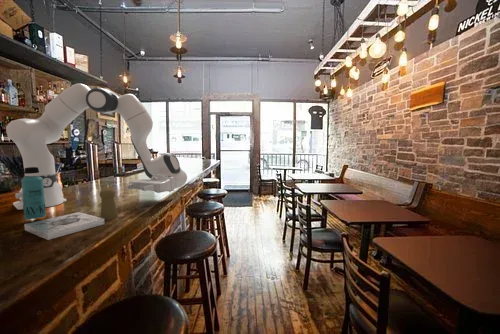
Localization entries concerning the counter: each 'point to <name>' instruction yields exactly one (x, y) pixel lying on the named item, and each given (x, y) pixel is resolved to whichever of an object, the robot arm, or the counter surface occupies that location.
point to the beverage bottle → (33, 195)
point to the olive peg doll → (108, 204)
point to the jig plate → (56, 229)
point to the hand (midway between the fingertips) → (135, 188)
